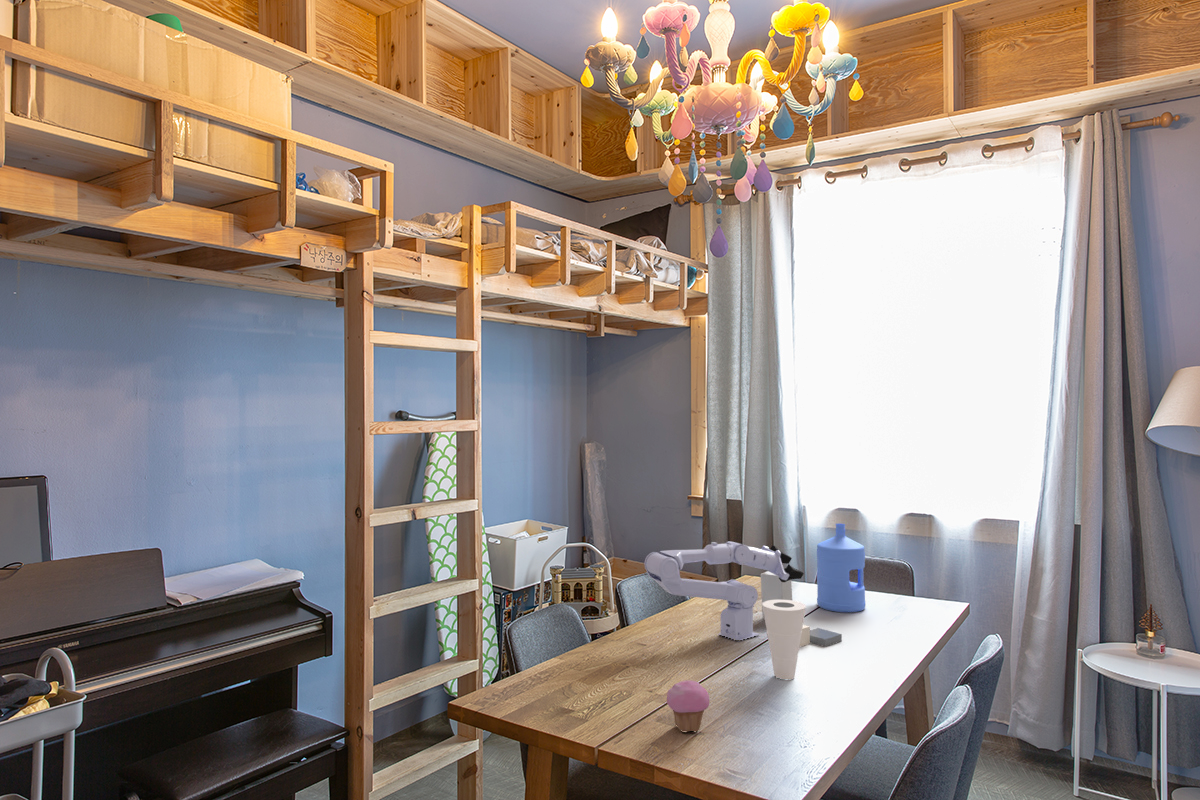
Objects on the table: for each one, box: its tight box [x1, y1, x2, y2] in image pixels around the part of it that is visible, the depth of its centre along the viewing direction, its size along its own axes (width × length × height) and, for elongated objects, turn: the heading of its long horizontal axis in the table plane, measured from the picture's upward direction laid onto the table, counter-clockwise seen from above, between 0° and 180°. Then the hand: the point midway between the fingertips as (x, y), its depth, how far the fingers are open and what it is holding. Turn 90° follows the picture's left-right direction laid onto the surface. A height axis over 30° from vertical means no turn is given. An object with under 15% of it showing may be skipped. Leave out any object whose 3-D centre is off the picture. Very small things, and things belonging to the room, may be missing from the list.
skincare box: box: [760, 570, 793, 620], centre depth 240 cm, size 8×6×15 cm
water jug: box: [816, 523, 866, 613], centre depth 255 cm, size 16×16×28 cm
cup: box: [761, 599, 807, 680], centre depth 188 cm, size 11×11×18 cm
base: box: [810, 627, 843, 647], centre depth 218 cm, size 8×8×2 cm
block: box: [799, 624, 811, 647], centre depth 215 cm, size 4×4×5 cm
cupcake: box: [666, 679, 710, 732], centre depth 157 cm, size 9×9×10 cm
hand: (795, 567), depth 231 cm, fingers open, 7 cm apart
